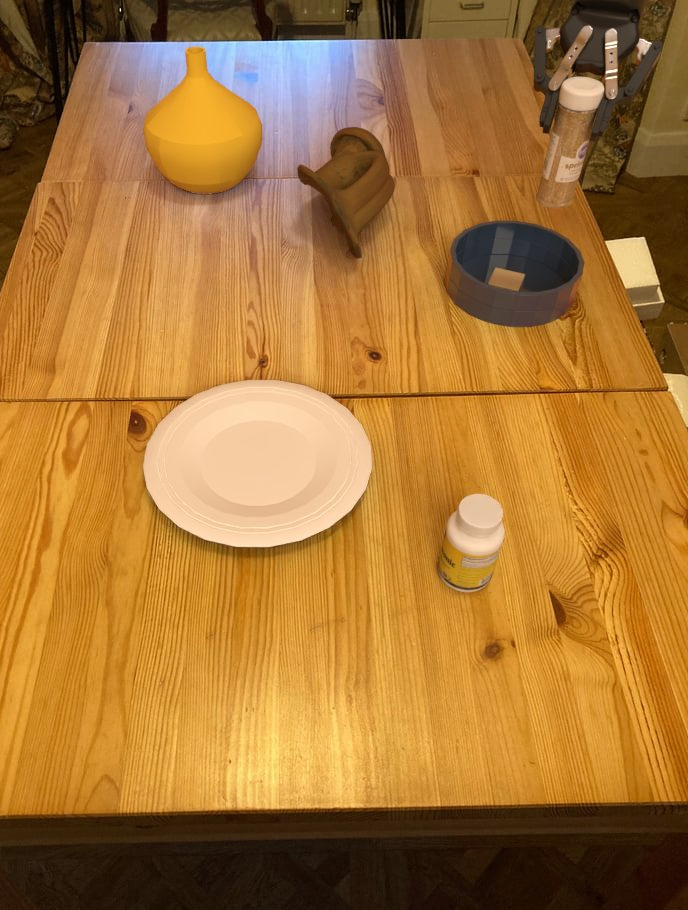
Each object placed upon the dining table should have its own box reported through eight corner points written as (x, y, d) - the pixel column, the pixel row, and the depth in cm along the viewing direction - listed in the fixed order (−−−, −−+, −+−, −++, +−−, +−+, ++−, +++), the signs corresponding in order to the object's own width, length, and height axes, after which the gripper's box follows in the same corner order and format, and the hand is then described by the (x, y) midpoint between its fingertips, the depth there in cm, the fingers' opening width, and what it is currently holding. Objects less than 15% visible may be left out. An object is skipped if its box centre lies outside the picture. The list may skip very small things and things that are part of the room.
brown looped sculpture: (235, 185, 109) (321, 104, 117) (269, 263, 118) (347, 182, 126) (336, 187, 98) (423, 96, 106) (365, 273, 107) (444, 183, 115)
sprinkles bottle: (565, 214, 91) (598, 96, 81) (529, 204, 93) (556, 87, 82) (577, 196, 94) (610, 79, 83) (541, 186, 95) (569, 71, 85)
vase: (136, 203, 120) (112, 71, 105) (169, 147, 131) (152, 22, 117) (250, 214, 118) (243, 82, 103) (274, 157, 129) (270, 30, 115)
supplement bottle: (434, 548, 78) (448, 485, 70) (488, 550, 78) (508, 487, 70) (438, 593, 75) (453, 532, 67) (494, 595, 75) (516, 534, 67)
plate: (117, 543, 78) (113, 531, 77) (176, 381, 94) (174, 369, 93) (360, 570, 76) (362, 559, 75) (379, 400, 92) (380, 388, 90)
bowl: (558, 255, 111) (568, 220, 107) (585, 331, 100) (597, 295, 96) (438, 254, 111) (444, 219, 107) (452, 330, 100) (459, 294, 96)
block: (489, 292, 105) (495, 267, 101) (518, 299, 104) (525, 274, 101) (482, 309, 102) (487, 283, 99) (511, 316, 101) (518, 290, 98)
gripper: (552, -58, 81) (504, 110, 83) (695, -43, 77) (641, 131, 79) (549, -15, 88) (505, 137, 90) (680, 0, 84) (631, 159, 87)
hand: (569, 134), depth 85 cm, fingers closed on sprinkles bottle, 4 cm apart
